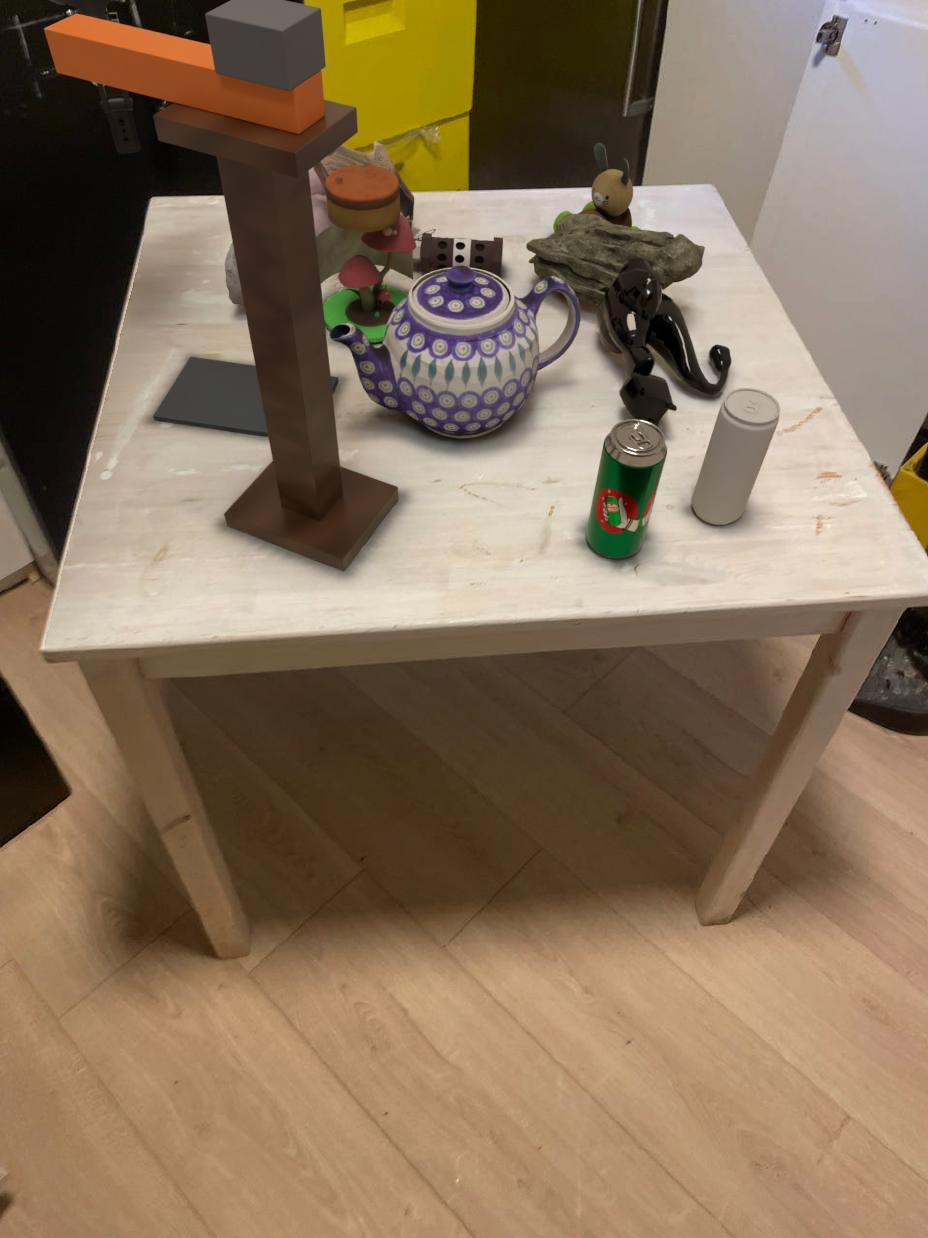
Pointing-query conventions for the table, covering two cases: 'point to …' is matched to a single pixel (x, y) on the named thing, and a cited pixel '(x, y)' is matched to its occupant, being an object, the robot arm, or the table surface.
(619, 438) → the soda can
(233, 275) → the stone
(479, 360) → the teapot
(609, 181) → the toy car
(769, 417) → the beverage can
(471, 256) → the brown holed brick
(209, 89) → the hammer with orange handle
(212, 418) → the grey mat
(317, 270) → the walnut stand
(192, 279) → the table surface
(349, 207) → the mushroom terrarium
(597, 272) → the stone
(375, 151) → the fragment
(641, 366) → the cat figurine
